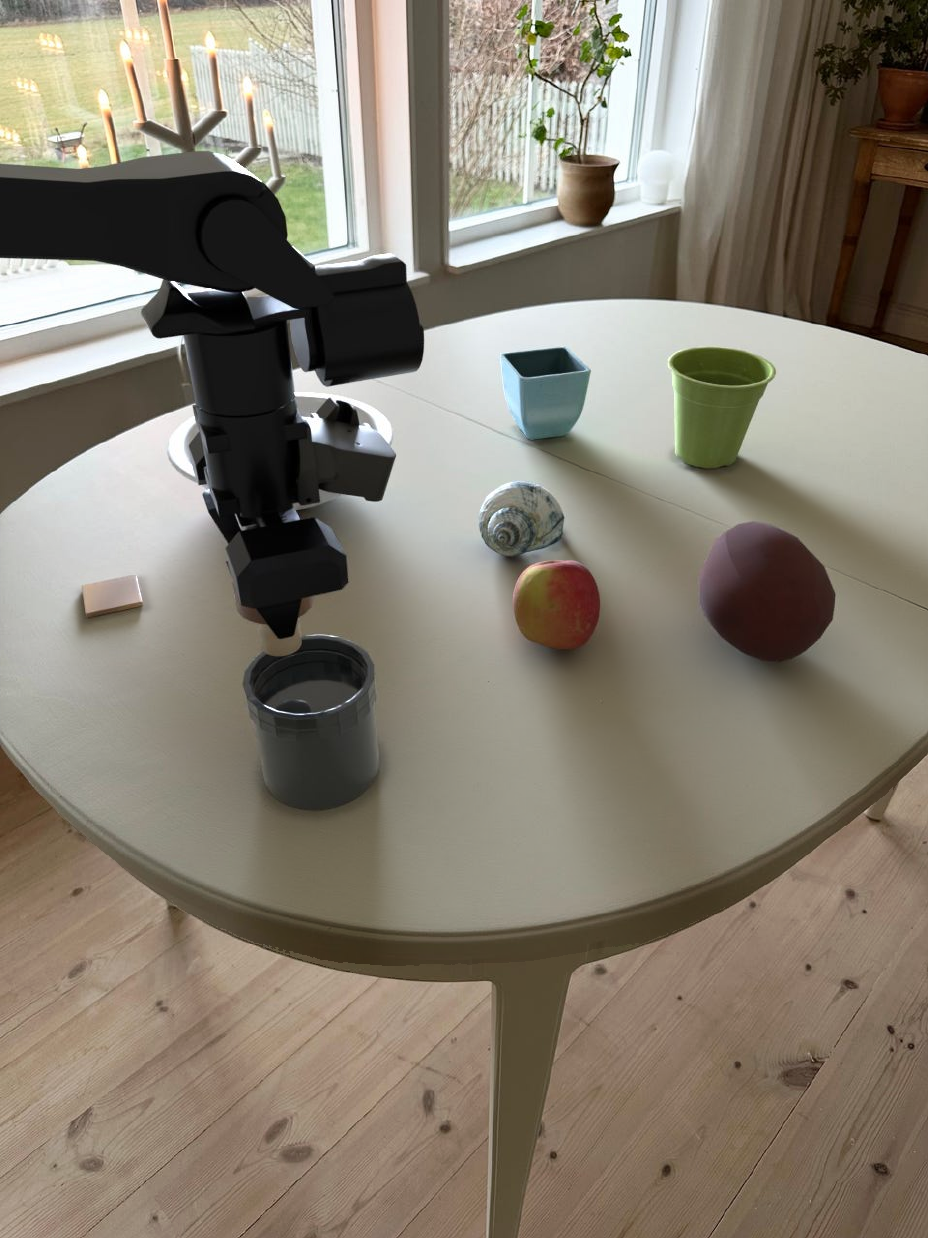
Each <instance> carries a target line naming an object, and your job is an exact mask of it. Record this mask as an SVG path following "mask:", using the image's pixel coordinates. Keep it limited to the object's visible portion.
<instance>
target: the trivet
mask: <svg viewBox="0 0 928 1238" xmlns="http://www.w3.org/2000/svg"><path fill="white" fill-rule="evenodd" d="M139 585H140V584H139V581H138V576H137V574H136V573H134V574H130V575H124V576H121V577H119V576H118V577H115V578H110V579H105V580H101V581H96V582H91V583H86V584H81V591H82V598H83V599H82V600H83V606H84V613H85V617H86V618H87V619H88V618H93V617H96V616H102V615H108V614H110V613H116V612H121V611H124V610H125V611H126V610H130V609H134V608H139V607H143V606H144V603H143V599H142V598H143V597H142V594H141V590H140V586H139Z"/></svg>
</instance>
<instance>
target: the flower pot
mask: <svg viewBox="0 0 928 1238" xmlns="http://www.w3.org/2000/svg"><path fill="white" fill-rule="evenodd" d="M499 358H500V368H501V378H502V379H501V380H502V387H503V393H504V398H505V401H506V405H507V407H508V410H509V412H510V414H511V416H512V418H513V420H514V422H515V424H516V425H517V427H518V428H519V429H520V431H521V432H522V433H523V434H524V436H525V437H526V439H528V440H540V439H549V438H555V437H563V436H566V435H568V434H569V433H570V432H571V431H572V430H573V428H574V427H575V426H576V424H577V422H578V420H579V419H580V417H581V414H582V413H583V410H584V406H585V402H586V398H587V393H588V388H589V382H590V377H591V372H592V370H591V368H589V366H588V365H586V364H585V363H584V362H583V361H582V360H581V359H580V358H579V357H578V356H577V355H575V353H573V352H572V351H571V349H570V348H568V347H566V346H557V347H546V348H538V349H537V348H536V349H529V350H519V351H511V352H509V351H508V352H503V353H500V354H499Z"/></svg>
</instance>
